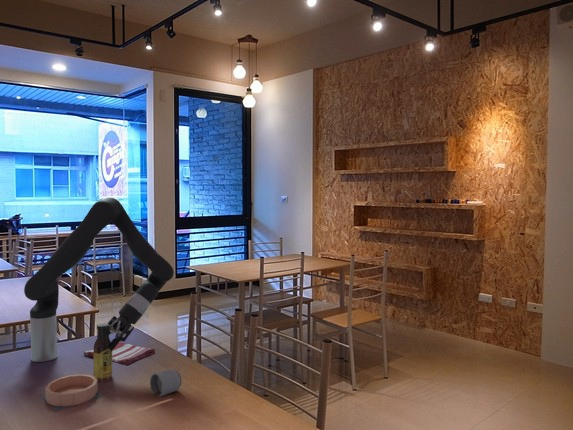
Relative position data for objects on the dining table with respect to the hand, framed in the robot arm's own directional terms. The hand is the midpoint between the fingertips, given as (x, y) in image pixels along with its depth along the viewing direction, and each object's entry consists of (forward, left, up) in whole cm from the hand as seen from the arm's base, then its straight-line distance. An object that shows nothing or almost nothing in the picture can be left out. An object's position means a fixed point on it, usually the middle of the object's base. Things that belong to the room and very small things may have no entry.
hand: (104, 345), depth 168 cm
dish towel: (-21, +14, -13) cm, 29 cm away
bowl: (+7, -14, -12) cm, 19 cm away
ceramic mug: (+23, +10, -12) cm, 28 cm away
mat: (+7, -14, -12) cm, 20 cm away
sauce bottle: (0, -1, -12) cm, 12 cm away
